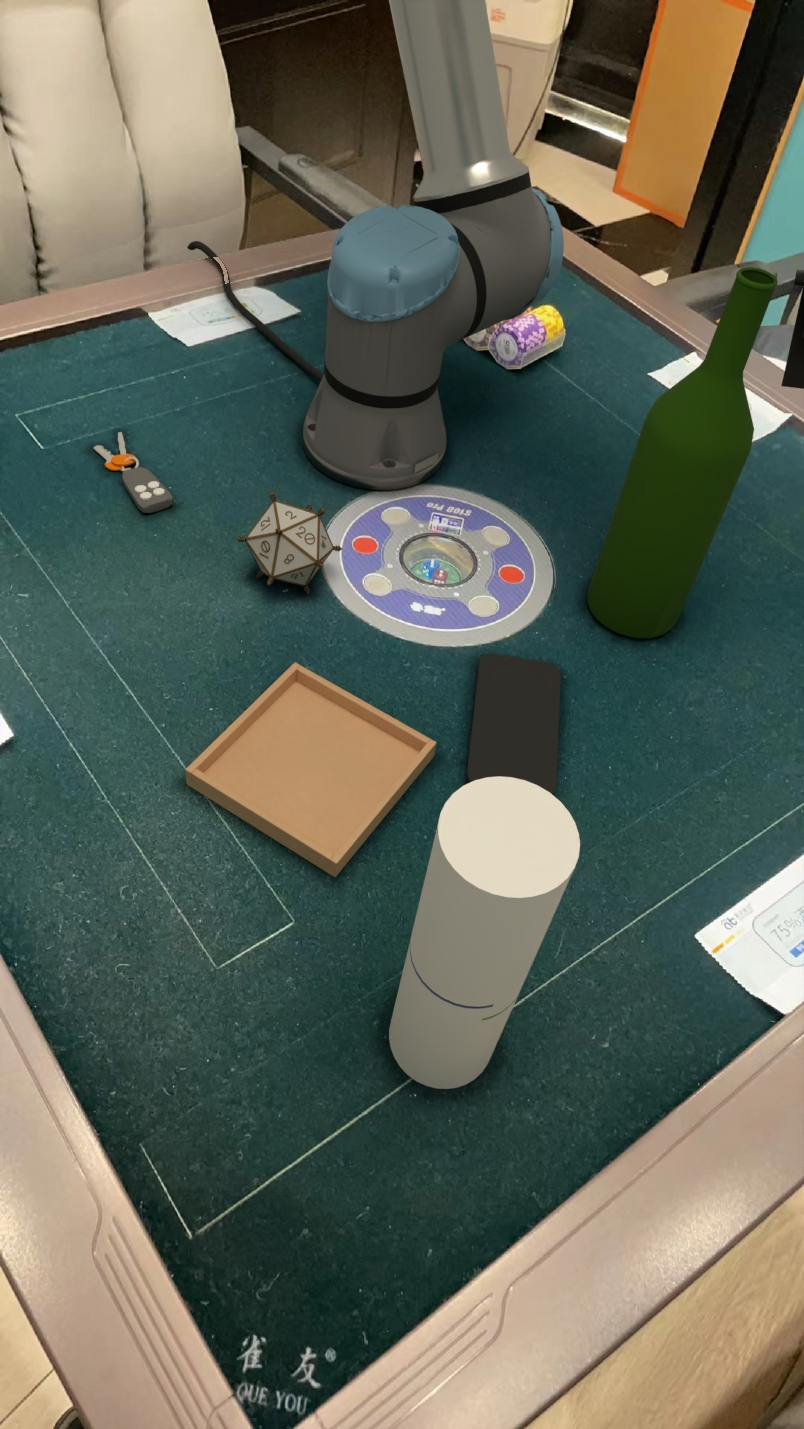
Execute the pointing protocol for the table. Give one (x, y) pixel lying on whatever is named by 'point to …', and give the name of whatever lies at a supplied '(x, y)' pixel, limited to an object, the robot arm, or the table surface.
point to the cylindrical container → (479, 925)
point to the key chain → (137, 480)
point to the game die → (289, 543)
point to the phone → (515, 721)
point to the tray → (312, 767)
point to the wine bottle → (681, 477)
